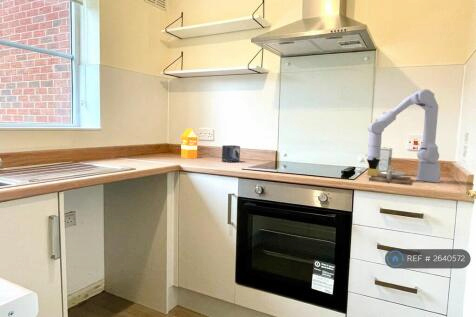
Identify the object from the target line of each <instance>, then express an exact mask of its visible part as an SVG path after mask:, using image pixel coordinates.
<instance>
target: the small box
mask: <svg viewBox="0 0 476 317" xmlns="http://www.w3.org/2000/svg"><path fill="white" fill-rule="evenodd" d="M221 147H222V150H221V152H222V153H221V162H223V163H240V159H241V158H240V156H241V146H240V145H232V144H231V145H222V146H221Z"/></svg>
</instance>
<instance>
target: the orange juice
mask: <svg viewBox="0 0 476 317" xmlns="http://www.w3.org/2000/svg"><path fill="white" fill-rule="evenodd" d="M180 146H181V150H180V157H181V158H184V159H198V135H197V134H196V132H195V131H194V129H193V128H185V129H184V132H183V133H182V134H181V145H180Z"/></svg>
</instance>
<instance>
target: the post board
mask: <svg viewBox="0 0 476 317" xmlns="http://www.w3.org/2000/svg"><path fill="white" fill-rule="evenodd" d="M411 179H412V177H410V176H392V171H388V172H387V175H383V174H377V176H369V178H368V182H377V183H378V182H379V183H387V184H396V185H406V186H410V185H411Z"/></svg>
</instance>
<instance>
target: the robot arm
mask: <svg viewBox="0 0 476 317" xmlns="http://www.w3.org/2000/svg"><path fill="white" fill-rule="evenodd" d="M413 105H416V106H419V107H420V108H422V109H423V110H424V121H423V133H422V142H421V144H420V145H419V149H418V151H417V154H416V156H417V159H419V160H418V168H417V177H416V178H415V180H416V181H419V182H430V183H440V179H441V163H437V161H438V160H439V158H440V154H439V151H438V150H439V147H438V146H437V144H436V136H437V128H438V127H437V126H438V116H439V115H438V114H439V104H438V101H437V100H436V97H435V93H434V92H432V91H431V90H430V89H427V88H426V89H425V88H424V89H421V90H417V91H413V92H412V93H411V94H409V95H408V96H406V97H405V98H404V99H403V100H402V101H401V102H400V103H399V104H398V105H396V106H395V107H394V108H393V109H392V110H387V111H384V112H383V111H382V112H383V113H382V115H380V116H379V117H378V118H375V119H374V121H373V122H371V123H370V124H369V125H368V127H367V130H368V132H369V135H368V147H367V154H365V157H367V159H366V162H367V164H368V166H369V167H368V168H373V169H377V165H378V163H379V162H380V159H378V158H379V157H381V156H380V151H381V147H382V135H383V133H384V130H385V129H386V128H387V127H389V125H391V124H392V123H393V122H395V121H396V120H397V116H398V115H400V113H402V112H403V111H405V110H406V109H407V108H409V107H410V106H413Z"/></svg>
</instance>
